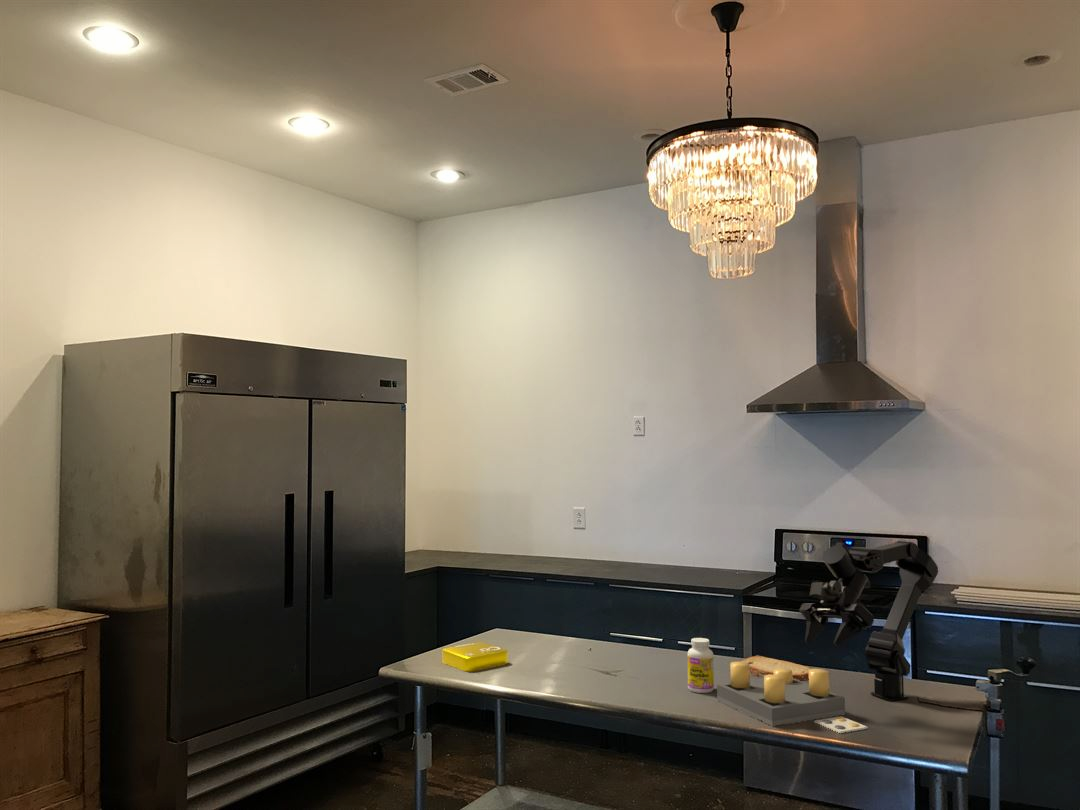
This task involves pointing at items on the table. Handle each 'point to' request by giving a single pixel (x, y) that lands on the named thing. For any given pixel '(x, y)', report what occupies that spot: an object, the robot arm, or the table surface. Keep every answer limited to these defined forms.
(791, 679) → the button
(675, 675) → the table surface
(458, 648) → the element tile
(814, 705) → the grey flat square block
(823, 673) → the button
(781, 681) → the button
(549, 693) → the table surface
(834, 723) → the card
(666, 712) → the table surface
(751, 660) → the slice of bread
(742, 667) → the button
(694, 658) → the supplement bottle
